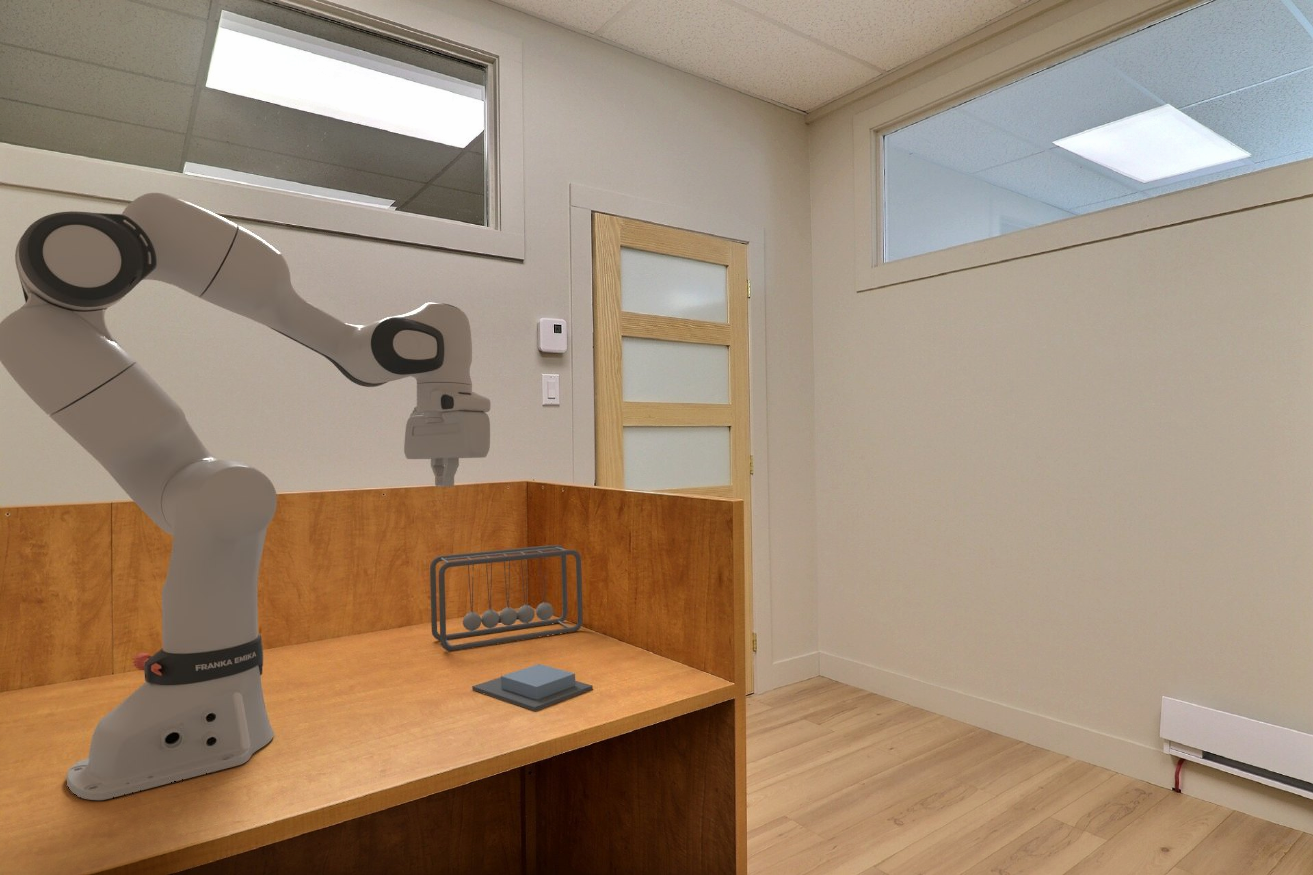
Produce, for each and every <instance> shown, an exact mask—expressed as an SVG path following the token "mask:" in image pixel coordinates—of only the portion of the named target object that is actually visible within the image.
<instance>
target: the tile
mask: <svg viewBox="0 0 1313 875" xmlns="http://www.w3.org/2000/svg"><path fill="white" fill-rule="evenodd" d="M500 677H501V689H504V690H507V691H511V692H514V693H517V694H520V695H523V696H526V697H529V698H532V699H535V700H538V699H541V698H544V697H547V696H549V695H552V694H555V693H557V692H560V691H563V690H566V689H568V688H571V687H574V686H575V681H576V673H574V672H572V671H571V672H570V671H567V670H564V669H563V670H562V669H559V668H556V667H552V666H549V665H544V664H542V663H537V664H535V665H532V666H527V667H524V668H523V669H518V670H516V671H513V672H509V673H507V674H504V675H500Z"/></svg>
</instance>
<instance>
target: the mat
mask: <svg viewBox="0 0 1313 875" xmlns="http://www.w3.org/2000/svg"><path fill="white" fill-rule="evenodd" d="M471 688H472V691H474V690H475V692H477V691H479V692H478V693H479V694H483V693H485V694H484V695H486V694H487V696H489V695H490V696H489V697H492V698H494V697H496V698H495V699H497V698H498V700H500V699H501V701H503V702H506V701H507V703H508V704H509V703H510V704H513V705H516V706H518V707H520V708H521V707H522V708H524V709H526V710H529V711H533V712H536V711H539V710H541V709H544V708H547V707H549V706H552V705H554V704H558V703H560V702H563V701H565V700H568V699H571V698H573V697H576V696H579V695H581V694H584V693H586V692H589V691H592V690H593V688H594V686H593V685H591V684H588V683H586V682H581V681H577V680H575V686H574V687H571V688H568V689H566V690H563V691H560V692H557V693H555V694H552V695H549V696H547V697H544V698H541V699H538V700H535V699H532V698H529V697H526V696H523V695H520V694H517V693H514V692H511V691H507V690H504V689H501V676H500V677H497V678H494V679H491V680H487V681H485V682H481V683H479V684H475V685H472V687H471Z"/></svg>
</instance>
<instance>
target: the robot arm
mask: <svg viewBox="0 0 1313 875" xmlns="http://www.w3.org/2000/svg"><path fill="white" fill-rule="evenodd" d="M14 256H15V257H14V259H15V260H14V261H15V267H16V270H17V273H18V277H19V280H20V281H19V282H20V284H21V287H22V292H23V297H24V298H23V299H24V301H25V303H24V304H23V305H22V306H21V307H20V308H18V309H16V310H15V311H13V312H11V313H10V314H9V315H7V316H5V318H4V319H2V321H1V322H0V363H1V365H3V367H4V368H5V370H6V371H7V372H8V374H9V375H10V376H11V378H12V379H13V380H14V381H15V383H17V384H18V386H20V389H22V391H24V392H25V394H26V395H27V396H28V397H29V398H30V399H31V400H32V401H33V403H35V404H36V405H37V406H38V407H39V409H41V410H42V411H43V412H44V413H45V414H46V415H47V416H48V417H50V419H51V420H53V421H54V422H55V423H56V424H57V425H58V426H59V427H60V428H62V429H63V431H65V432H66V433H67V434H68V435H69V436H70V437H71V438H72V439H73V440H75V441H76V443H78V444H79V445H80V446H81V447H82V448H83V449H84V450H85V451H86V452H87V453H89V454H90V455H91V456H92V457H93V459H95V460H96V461H97V462H98V463H99V464H100V465H101V466H102V467H103V468H104V470H106V471H107V473H109V475H110V476H111V477H112V478H113V480H114V481H115V482H116V483H117V484H118V486H119V487H120V488H121V489H122V490H123V491H124V492H125V493H126V494H127V495H128V496H129V498H130V499H132V501H133V502H134V503H135V504H136V505H137V506H138V507H139V508H140V509H141V511H142V512H144V514H146V516H147V517H148V518H150V520H151V521H152V522H153V523H154V524H155V525H156V526H157V527H158V528H160V529H161V530H162V531H163V532H164V533H166V534H169V535H170V536H172V544H171V545H172V547H171V553H170V559H169V564H168V571H167V574H166V578H165V582H164V584H163V585H162V589H161V622H162V625H161V629H162V630H161V633H162V637H161V638H162V647H161V649H160V650H158V651H157V652H156V653H154V654H153V655H151V654H149V653H147V652H140V653H138V654H136V655H135V657H133V659H132V664H133V666H134V667H135V669H138V670H140V671H144V674H143V675H144V681H145V682H144V683H142V685H140V686H139V687H138V688H137V689H136V690H135V691H133V692H132V693H130V695H129V696H127V697H126V698H125V699H124V700H122V702H120V703H119V704H117V705H116V706H115V707H114V708H113V709H111V710H110V711H109V712H108V713H107V714H105V715H104V716H103V717H102V718H101V719H100V720H99V721H98V723H97V725H96V727H95V728H94V731H93V734H92V737H91V741H90V745H89V751H88V757H87V758H83V759H82V760H78V761H77V762H75V763H74V764H72V766H70V767H69V769H68V770H67V772H66V779H65V782H66V781H67V785H66V787H67V786H68V787H69V789H70V790H71V791H72V792H73V793H74V794H76V795H77V796H76V795H75V796H76V797H79V798H80V797H81V799H85V800H91V801H104V800H110V799H113V797H114V798H117V797H121V796H125V795H129V794H133V793H137V792H140V790H141V791H144V790H149V789H152V788H156V787H160V786H163V785H168V784H171V782H172V783H175V782H174V781H176V782H179V781H182V779H183V780H187V779H191V778H195V777H199V776H203V775H206V773H207V774H209V773H211V774H212V773H214V772H218V771H222V770H225V769H229V768H233V767H238V766H240V765H243V764H245V763H246V762H248V761H249V760H250V758H251V757H252V755H253V754H254V753H255V752H257V751H258V750H260V749H261V748H263V747H265V746H266V745H268V744H269V743H270V741H272V739H273V738H274V737H275V734H274V730H273V728H272V725H271V723H270V718H269V716H268V712H267V708H266V703H265V699H264V693H263V692H264V691H263V685H262V675H263V667H264V647H263V646H264V645H263V643H262V642H263V641H262V636H261V635H260V634H259V612H258V611H259V610H258V609H259V608H258V607H259V606H258V604H259V603H258V586H259V585H258V582H259V574H260V565H261V561H262V557H263V551H264V546H265V542H266V541H265V540H266V536H267V530H268V526H269V524H270V523H271V521H272V520H273V518H274V516H275V514H276V511H277V506H278V495H277V491H276V488H275V485H274V484H273V483H272V480H270V478H269V477H268V476H267V475H265V474H264V473H263V472H262V471H260V470H258V469H257V468H255V467H253V466H252V465H250V464H248V463H245V462H242V461H239V460H235V459H218V458H217V457H215V455H213V454H212V453H211V452H210V451H209V450H208V449H207V448H206V447H205V445H204V444H203V442H202V441H201V439H200V438H199V437H198V435H197V434H196V432H195V430H194V429H193V428H192V426H191V425H190V423H189V421H188V420H187V418H186V414H185V412H184V410H183V409H182V408H181V406H179V404H178V403H177V402H176V401H175V400H174V399H173V398H172V397H171V396H170V395H169V394H168V393H167V392H166V391H165V390H164V389H163V387H161V386H160V385H159V384H158V382H156V380H154V378H153V377H152V376H151V375H150V374H149V373H147V372H146V370H145V369H144V368H143V367H142V366H141V365H140V364H139V363H138V362H137V361H136V360H135V359H134V358H133V357H132V356H131V355H130V354H129V353H128V352H127V351H126V350H125V349H124V348H123V347H122V346H121V345H120V344H119V343H118V342H117V341H116V339H115V337H114V336H113V335H112V333H111V332H110V331H109V329H108V326H107V324H106V321H105V312H106V310H107V309H108V308H110V307H112V306H114V305H115V304H117V303H119V302H120V301H121V300H122V299H124V297H126V295H127V294H129V293H130V292H131V291H132V290H133V289H134V288H136V286H137V285H139V284H140V283H141V282H142V281H145V280H149V281H150V280H151V281H157V282H162V283H165V284H169V285H173V286H175V287H177V288H179V289H181V290H183V291H185V292H187V293H189V294H191V295H194V296H195V297H198V298H199V299H202V300H204V301H205V302H207V303H210V304H213V305H215V306H217V307H219V308H222V309H224V310H227V311H229V312H231V313H233V314H237V315H239V316H242V317H244V318H247V319H250V320H252V321H254V322H256V323H258V324H261V325H263V326H266V327H267V328H269V329H271V330H273V331H275V332H277V333H279V334H281V335H282V336H285V337H286V338H289V340H292V341H294V342H296V343H297V344H300V345H301V346H304V347H305V348H308V349H309V350H311V351H313V352H315V353H317V354H319V355H320V356H323V357H324V358H325V359H326V360H328V361H329V362H331V364H333V366H334V367H336V368H337V370H338V371H339V372H341V373H342V375H343V376H344V377H345V378H347V380H349V381H351V383H353V384H355V385H358V386H361V387H365V388H374V387H379V386H383V385H384V384H387V383H390V382H394V381H399V380H401V379H405V378H408V377H411V378H414V379H415V380H416V406H414V409H413V410H412V412H411V413H410V416H409V417H408V419H407V421H406V424H405V425H406V426H405V430H404V431H405V432H404V433H405V434H404V447H403V448H404V449H403V450H404V451H403V452H404V455H405V458H406V459H407V460H430V467H431V470H432V472H433V476H434V485H435V487H441V488H442V487H443V488H444V487H446V488H448V487H450V488H451V487H454V485H455V475H456V473H457V471H458V468H459V466H460V459H477V458H479V459H480V458H487V456H488V453H489V451H490V447H491V423H490V422H491V421H490V417H489V415H488V412H490V410H491V400H490V399H489V398H487V397H486V396H482V395H480V394H478V393H476V392H474V391H473V383H472V379H471V374H470V370H471V369H470V368H471V365H472V361H473V344H472V343H473V342H472V330H471V326H470V322H469V319H468V316H467V314H466V312H464V311H463V310H461V309H460V308H459V307H457V306H454V305H451V304H449V303H443V302H442V303H440V302H426V303H424V304H423V305H422V306H420V307H418V308H417V309H414V310H412V311H409V312H407V313H403V314H401V315H393V316H389V317H385V318H383V319H380V320H377V321H374V322H372V323H370V324H365V325H356V324H350V323H346V322H344V321H343V320H341V319H339V318H337V317H335V316H333V315H331V314H330V313H328V312H326V311H324V309H321V308H320V307H317V306H316V305H314V304H313V303H311V302H309V301H307V300H306V299H304V298H303V297H301V296H300V295H299V294H298V292H297V291H296V290H295V288H294V287H293V284H292V282H291V273H290V269H289V266H288V263H287V261H286V259H285V257H284V255H283V254H282V253H281V252H280V251H279V250H277V249H276V248H275V247H273V245H271V244H270V243H268V242H267V241H266V240H264V239H263V238H261V237H260V236H258V235H256V234H254V233H252V232H251V231H250V230H247V229H246V228H244V227H242V226H240V225H237V223H234V222H233V221H230V220H229V219H227V218H225V217H223V216H221V215H219V214H216V213H214V212H212V211H210V210H207V209H205V208H203V207H200V206H199V205H196V204H193V203H191V202H189V201H185V200H183V199H180V198H177V197H174V196H171V195H168V194H165V193H161V192H150V193H145V194H143V195H140V196H138V197H137V198H135V199H134V200H132V201H131V202H130V203H128V205H126V207H125V209H123V212H122V213H107V212H106V213H101V212H100V213H99V212H91V211H90V212H89V211H77V210H76V211H71V210H70V211H60V212H55V213H51V214H47V215H45V216H42V217H40V218H38V219H37V220H35V221H34V222H32V223H31V225H29V226H28V227H27V228H26V230H25V231H24V233H23V234H22V236H21V237H20V238H19V241H18V243H17V245H16V248H15V254H14ZM68 787H67V788H68ZM69 789H68V790H69ZM70 790H69V791H70ZM71 791H70V792H71ZM72 792H71V793H72ZM132 792H133V793H132ZM73 793H72V794H73ZM74 794H73V795H74ZM124 794H125V795H124Z"/></svg>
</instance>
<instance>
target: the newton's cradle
mask: <svg viewBox="0 0 1313 875" xmlns="http://www.w3.org/2000/svg"><path fill="white" fill-rule="evenodd" d="M567 556H574V557H575V567H576V568H575V571H576V572H575V574H576V575H575V576H576V606H577V607H576V609H577V622H576V624H575V625H574V626H572V627H570V626H569V625H567V624H565V623H564V621H565V620H567V616H568V609H569V608H568V606H569V605H568V579H567V578H568V577H567V575H568V574H567ZM551 557H552V558H553V557H560V559H561V560H560V561H561V562H560V564H561V596H562V597H561V598H562V599H561V600H562V604H561V605H562V614H561V616H560V617H558V618H552V617H553V615H554V608H553V607H554V606H552V605H551V603H548V602H546V573H544V579H543V580H544V586H543V582H542V581H543V580H542V573H541V564H540V562H538V567H539V576H540V583H541V584H540V586H541V587H544V588H541V593H542V594H541V595H542V596H543V597H542V601H543V602H542V603H540V604H538V605H537V607H536V608H535V609H536V610H534V608H533V607H532V606H531V605H528V603H527V602H528V599H527V598H528V579H526V581H524V579H522V588H523V590H525V589H526V590H525V592H523V599H524V600H523V601H524V605H522V606H520V607H518V610H517V611H516V609H514V608H513V607H510V595H508V590H507V588H510V585H511V583H510V582H511V581H510V577H511V561H520V565H521V566H523V560H524V561H525V560H526V573H528V569H529V568H528V566H529V564H528V563H529V560H531V559H532V560H533V559H534V560H535V559H538V561H540V559H542V558H544V559H545V558H551ZM440 562H444V563H443V564H442V565H441V566H440V568H439V570H438V602H439V604H438V605H439V606H437V576H436V575H437V573H436V572H437V571H436V569H437V565H438V563H440ZM506 562H509V563H508V564H509V565H508V586H505V594H506V598H507V599H506V607H505V608H503V609H501V611H500V613H498V612H497V611H496V610H494V609H492V597H490V592H489V590H490V589H492V582H493V581H492V578H493V577H492V576H493V564H494V563H503V569H504V572H506V564H505V563H506ZM482 564H483V565H485V568H486V570H485V571H488V564H491V565H490V569H491V570H490V588H489V586H487V595H488V596H487V597H488V598H489V600H488V608H489V609H488V610H486V611H484V612H483V613H482V615H479V613H477V612H474V611H473V610H474V578H472V584H471V581H470V580H471V579H470V576H468V587H469V588H468V589H469V590H472V591H469V602H470V605H471V606H470V612H469V613H466V614H465V615H464V616H463V619H462V626H463V628H465V629H466V630H467V631H463V632H454V633H450V634H447V620H446V618H447V617H446V588H445V587H446V586H445V584H446V582H445V580H446V578H445V576H446V575H445V574H446V570H447V569H449V568H453V567H465V566H467V569H468V570H467V571H468V575H470V566H472V570H474V565H482ZM488 574H489V573H488V572H486V581H487V582H486V584H487V585H489V577H488V576H489V575H488ZM429 576H430V577H429V579H430V580H429V581H430V615H431V616H430V620H431V635H432V636H433V637H434V639H435V640H437V641H439V642H440V645H441V647H442V649H443V650H445V651H448V652H455V651H461V650H460V649H463V650H467V649H468V648H469V649H473V648H472V647H476V648H480V647H479V646H482V647H485V646H484V645H489V646H493V645H492V644H495V645H498V644H497V643H501V644H506V643H505V642H508V643H510V642H509V641H514V642H518V641H517V640H521V641H523V640H522V639H527V640H531V639H530V638H534V639H536V638H535V637H539V636H546V637H548V636H547V635H552V634H559V635H561V634H560V633H565V632H572V633H575V632H574V631H576V632H577V630H578V631H579V630H580V629H581V628H582V626H583V622H584V616H583V614H584V612H583V584H582V583H583V580H582V577H583V576H582V557H581V554H580V553H579V552H578V551H577V550H576V549H565V548H564V547H563V546H562V545H560V544H554V545H550V544H549V545H541V546H531V547H520V548H508V549H498V550H489V551H488V550H487V551H477V552H468V553H467V552H466V553H465V552H464V553H457V554H456V553H455V554H446V555H439V556H437V557H436V556H435V558H433V560H431V562H430V566H429ZM521 576H522V578H524V569H523V567H521ZM504 581H505V583H504V584H505V585H507V578H506V573H504ZM524 582H526V584H524ZM471 585H472V586H471ZM525 585H526V586H525ZM471 588H472V589H471ZM543 589H544V591H543ZM438 607H439V609H437V608H438ZM438 610H439V632H438ZM535 615H536V616H537V618H538V619H539V620H538V621H537V620H536V621H534V622H533V619H534V618H535ZM551 618H552V619H551ZM517 619H518V620H519V621H520V622H521V623H517V624H515V623H516V622H517ZM500 622H501V624H502V626H499V627H498V625H499V623H500ZM552 623H558V624H560V625H562V626H564V627H565V628H558V629H551V630H545V631H540V632H539V631H538V632H531V633H525V634H519V635H513V636H505V637H498V638H491V639H485V640H479V641H473V642H467V643H465V642H464V643H459V644H453V645H452V644H451V643H450V642H449V639H450V640H455V639H462V637H464V638H468V637H467V636H470V637H476V636H475V635H477V636H481V635H480V634H484V635H490V634H489V633H491V634H494V633H493V632H497V633H502V631H504V632H507V631H506V630H511V631H515V630H514V629H518V630H521V629H520V628H524V629H529V628H528V627H531V628H534V627H533V626H538V627H543V626H542V625H545V626H547V625H546V624H551V625H553V624H552ZM481 624H482V625H483V626H484V627H485V629H484V628H483V629H479V628H480V626H481ZM469 649H468V650H469Z"/></svg>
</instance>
